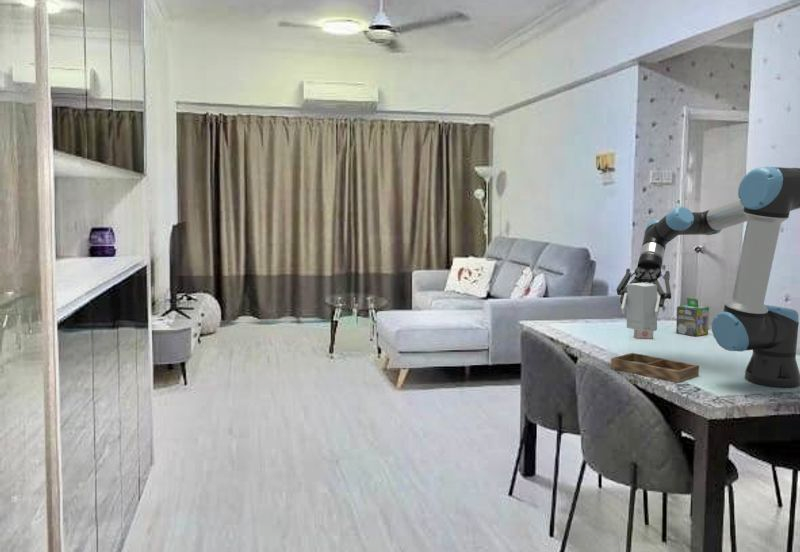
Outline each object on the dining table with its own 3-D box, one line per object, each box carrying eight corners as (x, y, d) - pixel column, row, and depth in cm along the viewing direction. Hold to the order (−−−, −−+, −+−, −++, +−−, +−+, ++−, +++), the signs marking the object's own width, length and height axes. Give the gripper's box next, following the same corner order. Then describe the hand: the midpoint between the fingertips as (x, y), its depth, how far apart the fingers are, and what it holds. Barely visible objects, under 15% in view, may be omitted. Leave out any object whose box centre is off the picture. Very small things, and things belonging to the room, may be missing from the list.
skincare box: (657, 330, 226) (659, 284, 225) (642, 332, 224) (644, 285, 222) (638, 326, 234) (640, 281, 232) (624, 327, 232) (626, 282, 230)
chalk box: (708, 334, 289) (710, 298, 287) (695, 337, 284) (697, 300, 282) (688, 331, 297) (690, 296, 295) (675, 333, 291) (677, 297, 290)
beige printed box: (633, 336, 283) (634, 312, 282) (651, 337, 282) (652, 312, 281) (635, 338, 279) (636, 313, 278) (653, 339, 278) (654, 314, 277)
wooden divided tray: (698, 375, 221) (699, 365, 221) (678, 382, 213) (678, 371, 212) (632, 362, 239) (632, 352, 238) (610, 368, 230) (611, 358, 230)
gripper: (687, 268, 235) (677, 322, 223) (618, 264, 245) (605, 316, 234) (685, 253, 229) (675, 308, 218) (615, 250, 240) (602, 302, 228)
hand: (639, 312), depth 226 cm, fingers closed on skincare box, 10 cm apart
